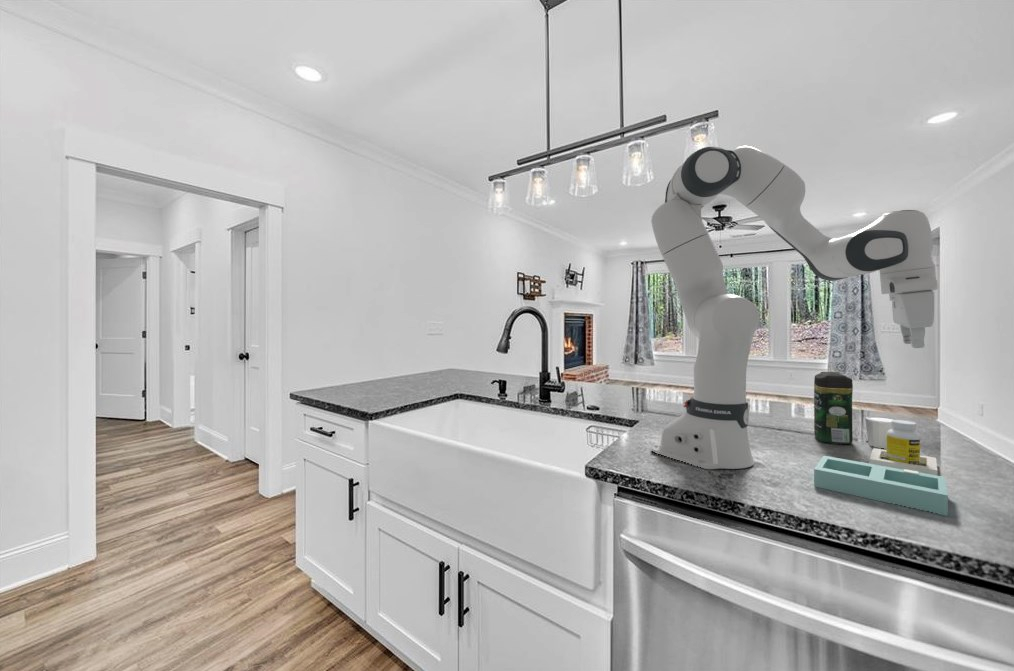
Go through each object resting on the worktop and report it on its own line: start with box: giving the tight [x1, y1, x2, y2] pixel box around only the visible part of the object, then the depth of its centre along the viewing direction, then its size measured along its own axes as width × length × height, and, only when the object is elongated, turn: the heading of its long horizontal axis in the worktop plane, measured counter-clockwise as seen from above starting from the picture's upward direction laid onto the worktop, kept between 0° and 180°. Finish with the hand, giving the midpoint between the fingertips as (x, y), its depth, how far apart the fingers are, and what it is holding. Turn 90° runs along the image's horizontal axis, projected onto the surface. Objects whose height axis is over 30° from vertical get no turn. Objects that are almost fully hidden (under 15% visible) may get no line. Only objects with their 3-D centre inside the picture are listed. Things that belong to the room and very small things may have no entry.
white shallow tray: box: [868, 447, 938, 476], centre depth 92 cm, size 10×10×2 cm
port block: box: [813, 455, 949, 517], centre depth 78 cm, size 18×11×4 cm, turn 45°
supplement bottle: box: [885, 419, 921, 465], centre depth 91 cm, size 5×5×10 cm
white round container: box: [865, 416, 897, 450], centre depth 105 cm, size 7×7×7 cm
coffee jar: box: [813, 371, 854, 446], centre depth 110 cm, size 10×8×19 cm
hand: (913, 345), depth 91 cm, fingers open, 8 cm apart
